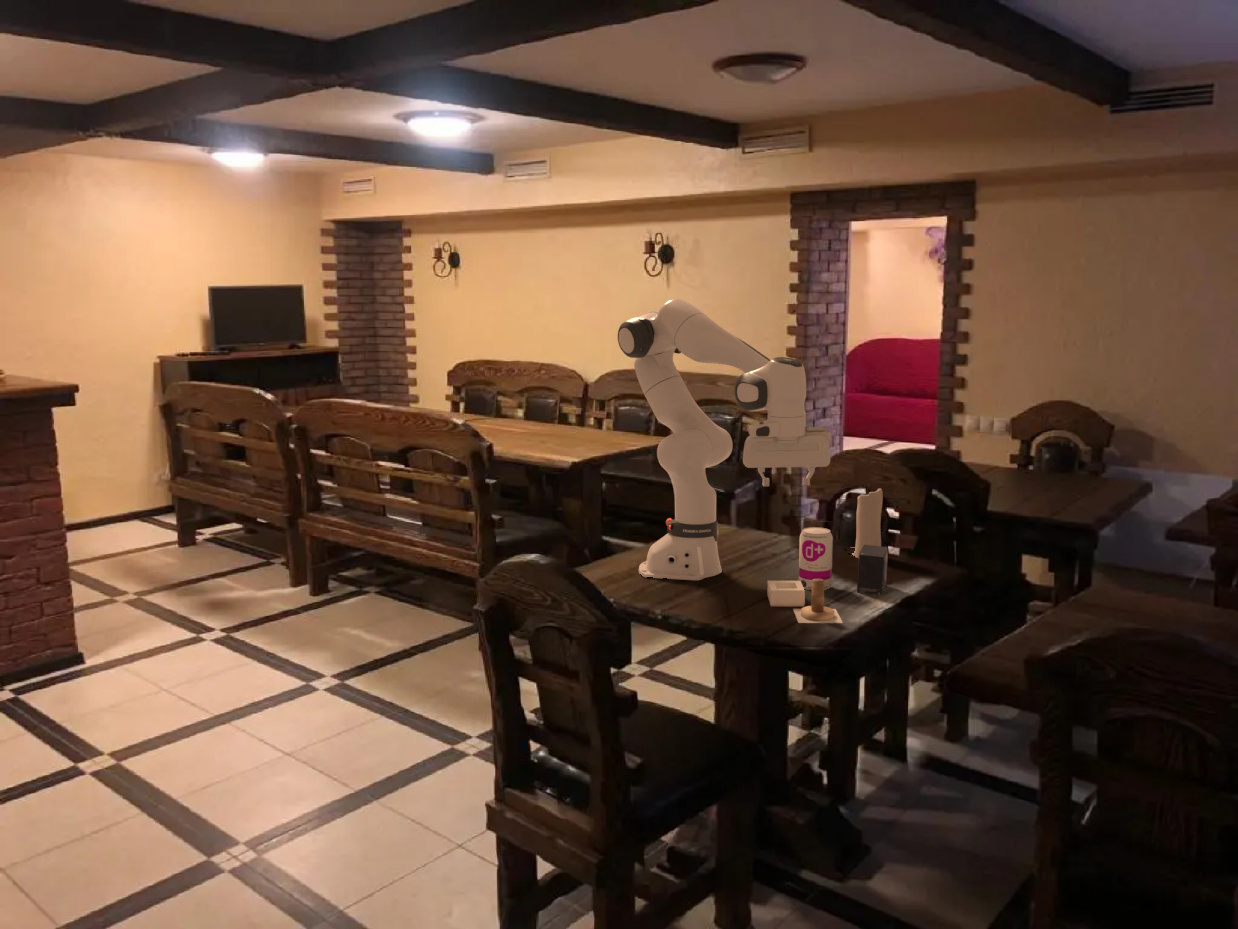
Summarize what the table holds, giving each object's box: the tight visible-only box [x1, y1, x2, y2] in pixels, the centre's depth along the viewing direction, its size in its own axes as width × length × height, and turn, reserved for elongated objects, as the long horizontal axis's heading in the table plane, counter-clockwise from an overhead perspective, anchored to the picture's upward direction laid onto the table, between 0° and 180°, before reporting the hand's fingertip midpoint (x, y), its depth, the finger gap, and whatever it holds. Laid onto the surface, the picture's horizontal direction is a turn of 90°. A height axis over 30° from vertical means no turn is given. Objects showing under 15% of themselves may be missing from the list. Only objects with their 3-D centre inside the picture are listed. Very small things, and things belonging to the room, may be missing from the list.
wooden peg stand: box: [800, 579, 834, 621], centre depth 229 cm, size 8×8×8 cm
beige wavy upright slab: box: [851, 487, 884, 559], centre depth 283 cm, size 7×14×20 cm, turn 19°
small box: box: [856, 545, 888, 595], centre depth 249 cm, size 11×6×10 cm, turn 160°
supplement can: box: [798, 526, 834, 591], centre depth 252 cm, size 8×8×15 cm
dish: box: [767, 580, 806, 607], centre depth 240 cm, size 8×8×4 cm
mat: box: [792, 608, 844, 624], centre depth 229 cm, size 10×10×1 cm
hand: (786, 485), depth 234 cm, fingers open, 8 cm apart
